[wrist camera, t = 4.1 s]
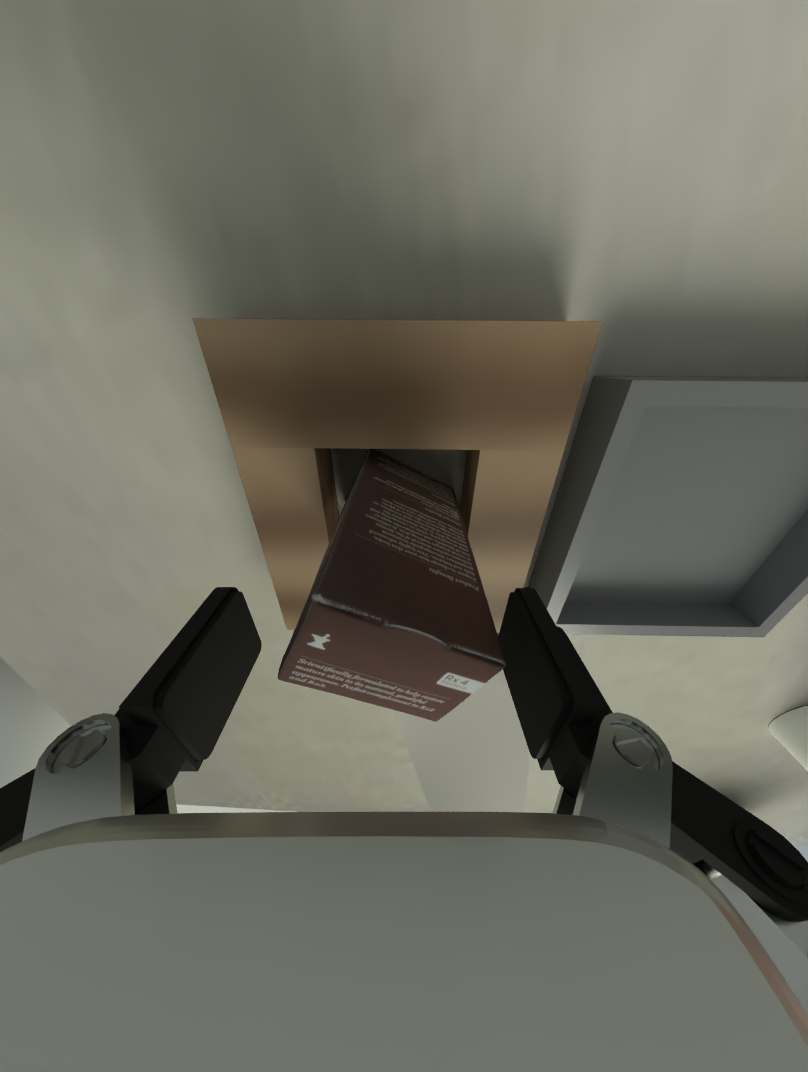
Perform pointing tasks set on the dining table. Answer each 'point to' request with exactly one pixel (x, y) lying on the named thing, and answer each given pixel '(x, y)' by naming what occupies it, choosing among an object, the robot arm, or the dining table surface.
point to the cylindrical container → (793, 733)
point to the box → (396, 601)
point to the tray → (681, 509)
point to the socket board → (397, 425)
